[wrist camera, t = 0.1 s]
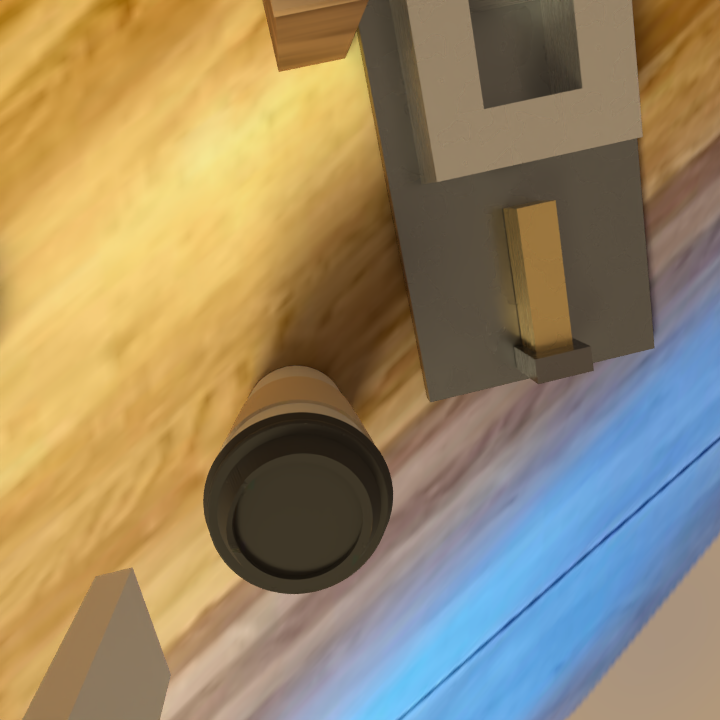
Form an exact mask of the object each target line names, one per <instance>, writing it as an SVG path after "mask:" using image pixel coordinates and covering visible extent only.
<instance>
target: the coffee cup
mask: <svg viewBox="0 0 720 720" xmlns="http://www.w3.org/2000/svg"><path fill="white" fill-rule="evenodd" d="M203 504H204V515H205V519H206V523H207V526H208V529H209V532H210V535H211V538H212V541H213V543H214V546H215V548H216V550H217V551H218V553H219V555H220V556H221V558H222V559H223V560H224V562H225V563H226V564H227V565H228V566H229V567H230V568H231V569H232V570H233V571H234V572H235V573H236V574H237V575H238V576H240V577H241V578H243V579H244V580H246V581H247V582H249V583H251V584H253V585H255V586H257V587H260V588H262V589H265V590H269V591H273V592H278V593H285V594H302V593H310V592H315V591H319V590H322V589H326V588H328V587H331V586H333V585H335V584H337V583H339V582H341V581H343V580H345V579H346V578H348V577H349V576H351V575H352V574H353V573H355V572H356V571H357V570H358V569H359V568H360V567H362V566H363V565H364V564H365V562H366V561H367V560H368V559H369V558H370V557H371V555H372V554H373V553H374V551H375V550H376V548H377V546H378V545H379V543H380V541H381V539H382V536H383V534H384V531H385V529H386V527H387V524H388V522H389V519H390V515H391V511H392V504H393V486H392V480H391V476H390V472H389V469H388V467H387V464H386V462H385V460H384V458H383V456H382V455H381V453H380V451H379V450H378V449H377V447H376V446H375V445H374V443H373V441H372V439H371V437H370V436H369V434H368V432H367V431H366V429H365V428H364V426H363V424H362V423H361V421H360V419H359V418H358V416H357V415H356V413H355V411H354V410H353V408H352V406H351V405H350V403H349V402H348V400H347V399H346V398H345V397H344V396H343V395H342V394H341V392H340V391H339V389H338V387H337V386H336V384H335V383H334V382H333V381H332V380H331V379H330V378H329V377H328V376H326V375H325V374H323V373H322V372H320V371H318V370H316V369H313V368H310V367H306V366H287V367H283V368H280V369H277V370H275V371H273V372H271V373H269V374H268V375H266V376H265V377H263V378H262V379H261V380H260V381H259V382H258V383H257V385H256V386H255V387H254V389H253V390H252V392H251V394H250V396H249V398H248V400H247V401H246V403H245V404H244V406H243V407H242V409H241V411H240V413H239V415H238V417H237V419H236V421H235V422H234V424H233V426H232V428H231V430H230V432H229V434H228V436H227V438H226V440H225V442H224V444H223V446H222V448H221V450H220V452H219V454H218V456H217V457H216V459H215V461H214V462H213V464H212V466H211V469H210V471H209V473H208V476H207V480H206V484H205V489H204V499H203Z"/></svg>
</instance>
